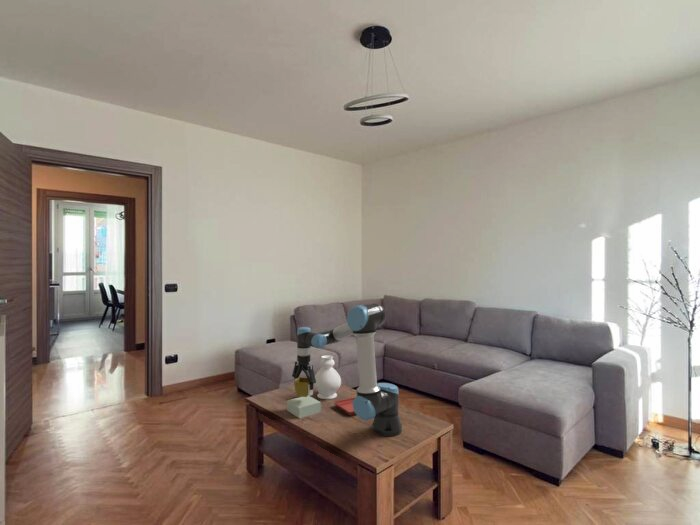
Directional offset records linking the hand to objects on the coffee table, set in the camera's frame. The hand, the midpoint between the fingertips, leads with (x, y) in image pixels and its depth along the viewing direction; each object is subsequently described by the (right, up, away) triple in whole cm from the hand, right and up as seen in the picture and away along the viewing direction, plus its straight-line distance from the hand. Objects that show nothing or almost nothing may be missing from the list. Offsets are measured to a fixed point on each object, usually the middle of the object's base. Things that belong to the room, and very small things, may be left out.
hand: (303, 392), depth 219 cm
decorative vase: (+12, -11, +25) cm, 30 cm away
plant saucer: (+29, -11, +4) cm, 31 cm away
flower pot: (0, -2, 0) cm, 2 cm away
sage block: (0, -11, 0) cm, 11 cm away
